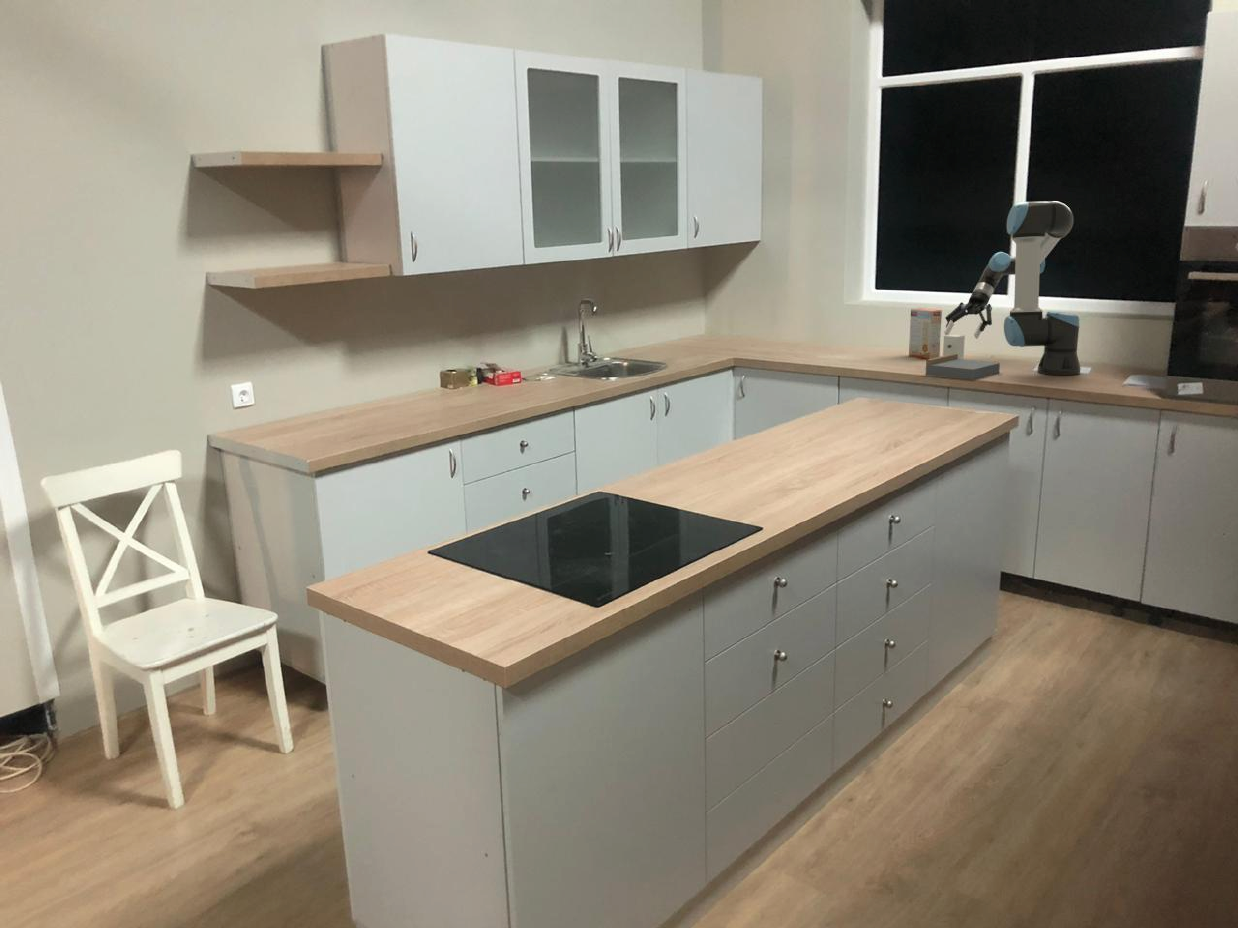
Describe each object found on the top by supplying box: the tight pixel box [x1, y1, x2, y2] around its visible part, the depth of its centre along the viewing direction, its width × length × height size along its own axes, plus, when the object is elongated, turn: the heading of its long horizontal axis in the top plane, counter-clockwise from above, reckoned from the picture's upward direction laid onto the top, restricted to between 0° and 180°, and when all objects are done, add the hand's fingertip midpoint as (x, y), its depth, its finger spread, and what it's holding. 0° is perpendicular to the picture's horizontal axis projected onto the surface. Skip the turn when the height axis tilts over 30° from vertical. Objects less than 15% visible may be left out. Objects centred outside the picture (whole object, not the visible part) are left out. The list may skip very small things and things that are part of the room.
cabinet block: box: [942, 334, 966, 360], centre depth 405 cm, size 6×7×12 cm
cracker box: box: [908, 307, 943, 360], centre depth 426 cm, size 14×6×21 cm, turn 22°
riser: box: [925, 354, 1001, 381], centre depth 383 cm, size 20×20×6 cm
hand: (960, 335), depth 409 cm, fingers open, 13 cm apart
